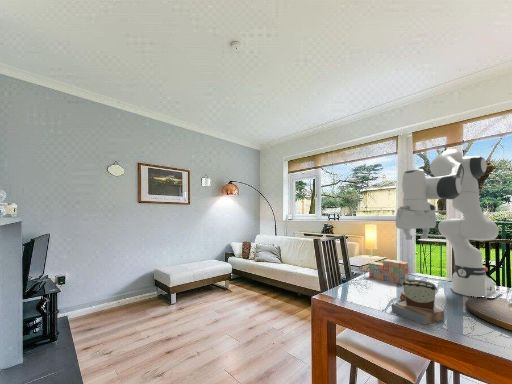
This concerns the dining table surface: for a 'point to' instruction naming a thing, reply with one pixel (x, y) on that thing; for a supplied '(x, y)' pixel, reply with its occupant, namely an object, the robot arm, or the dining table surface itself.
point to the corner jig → (409, 313)
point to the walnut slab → (426, 313)
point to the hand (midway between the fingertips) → (416, 239)
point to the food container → (419, 294)
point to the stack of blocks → (389, 271)
